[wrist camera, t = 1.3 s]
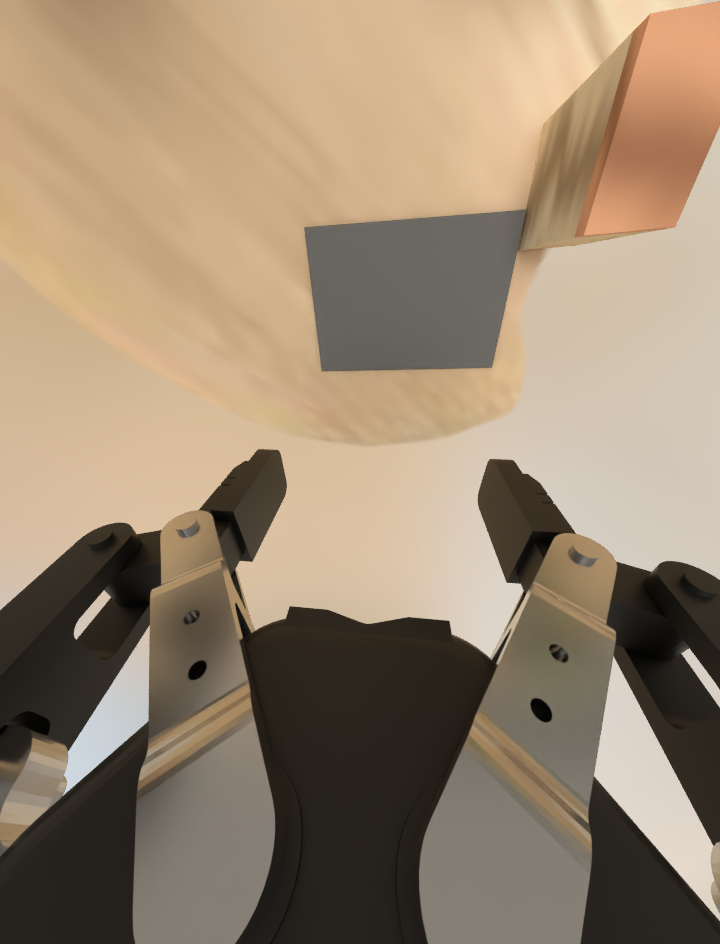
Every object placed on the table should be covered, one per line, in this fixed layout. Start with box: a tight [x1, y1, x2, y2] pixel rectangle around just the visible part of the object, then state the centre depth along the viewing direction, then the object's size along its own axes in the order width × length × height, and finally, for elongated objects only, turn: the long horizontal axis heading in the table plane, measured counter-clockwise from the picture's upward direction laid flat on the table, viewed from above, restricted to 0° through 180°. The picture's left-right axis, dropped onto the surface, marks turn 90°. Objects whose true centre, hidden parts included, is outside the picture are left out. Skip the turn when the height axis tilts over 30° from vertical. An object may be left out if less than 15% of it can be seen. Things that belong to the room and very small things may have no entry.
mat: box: [304, 210, 526, 371], centre depth 26 cm, size 12×18×1 cm, turn 92°
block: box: [518, 1, 720, 251], centre depth 17 cm, size 7×4×10 cm, turn 4°
